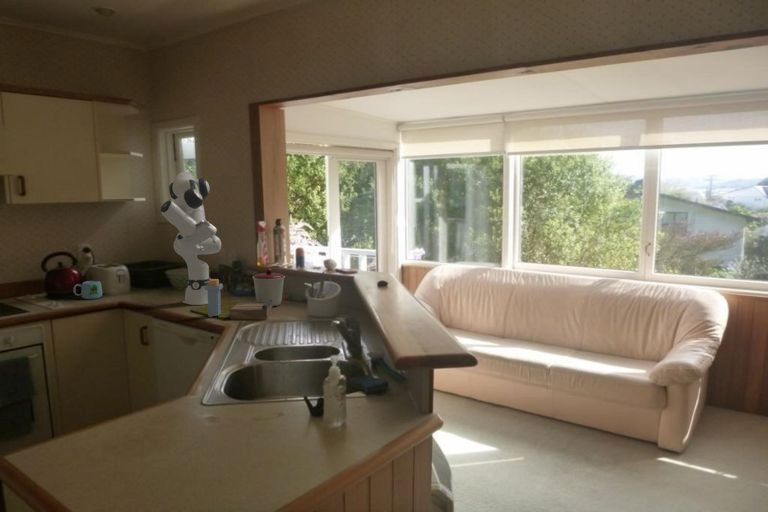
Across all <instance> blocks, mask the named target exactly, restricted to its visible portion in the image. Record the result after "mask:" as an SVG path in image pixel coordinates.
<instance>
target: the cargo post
mask: <svg viewBox="0 0 768 512" xmlns="http://www.w3.org/2000/svg"><path fill="white" fill-rule="evenodd" d="M223 288H224V285H223V283H219V285H218V286H209V284H207V285H206V286H205V290H208V304H207V317H209V318H214V317H213V316H215V315H219V314H221V315H222V311H221V310H222V306H221V305H222V303H221V302H222V299H221V290H222V289H223Z"/></svg>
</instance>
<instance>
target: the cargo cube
mask: <svg viewBox="0 0 768 512" xmlns="http://www.w3.org/2000/svg"><path fill="white" fill-rule="evenodd" d="M219 284H220V280H219V279H218V278H211V279H210V280H209V286H218V285H219Z"/></svg>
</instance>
